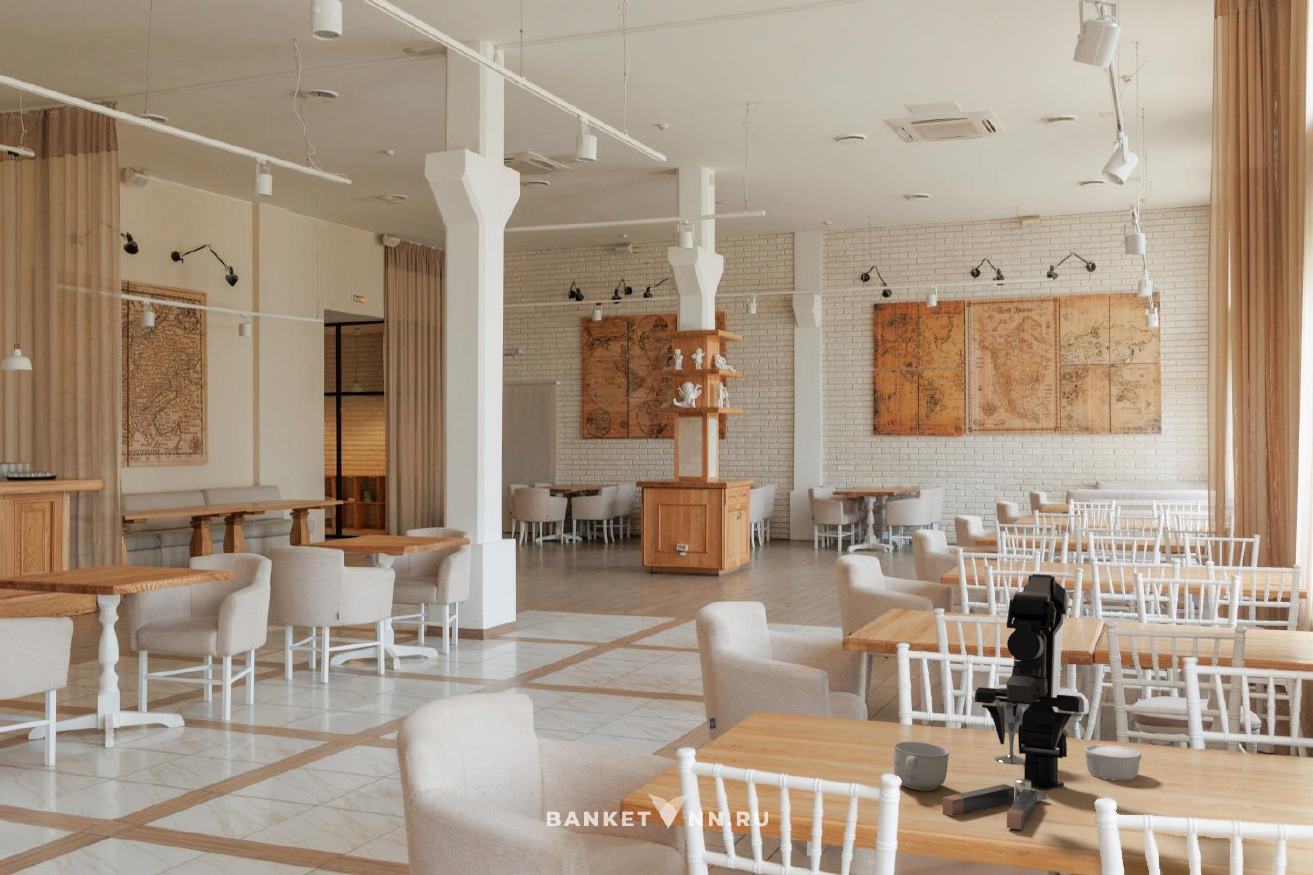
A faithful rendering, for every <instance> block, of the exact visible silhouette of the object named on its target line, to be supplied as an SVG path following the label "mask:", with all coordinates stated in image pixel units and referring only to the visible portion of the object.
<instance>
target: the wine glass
mask: <svg viewBox="0 0 1313 875" xmlns="http://www.w3.org/2000/svg"><path fill="white" fill-rule="evenodd" d="M997 689H1002V691H1003V693H1007V687H999V688H998V687H997ZM1029 705H1030V704H1020V703H1009V702H1001V703H1000V706H1004V717H1005V731H1006V732H1007V735H1008V741H1009V744H1008V745H1009V752H1008V754H1007V755H998V756H995V757H994V761H996V762H998V763H1002V764H1007V765H1024V763H1025V757H1022V756H1017V755H1015V753H1014V744H1015V736H1016V733H1017V731H1018V729H1019V724H1022V715H1023V713H1024V711H1025V710H1026V709H1027V708H1028V706H1029Z"/></svg>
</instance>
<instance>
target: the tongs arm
mask: <svg viewBox="0 0 1313 875" xmlns="http://www.w3.org/2000/svg"><path fill="white" fill-rule="evenodd" d="M1034 790H1035V789H1032V790H1027V789H1023V790H1022V792H1021V793H1020V795H1019V796H1018V797H1017V799H1016V800H1015V799H1014V803H1012V805H1011V806H1010V808H1009V809H1008V810H1007V812H1006V828H1007V829H1013V830H1020V831H1021V830H1022V828H1024V825H1025V824H1026V822H1027V821H1028V819H1029V817H1030V816H1031V814H1032V812H1033V811H1034V809H1035V807H1036V805H1037V802H1036V791H1037V790H1035V791H1034Z"/></svg>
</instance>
